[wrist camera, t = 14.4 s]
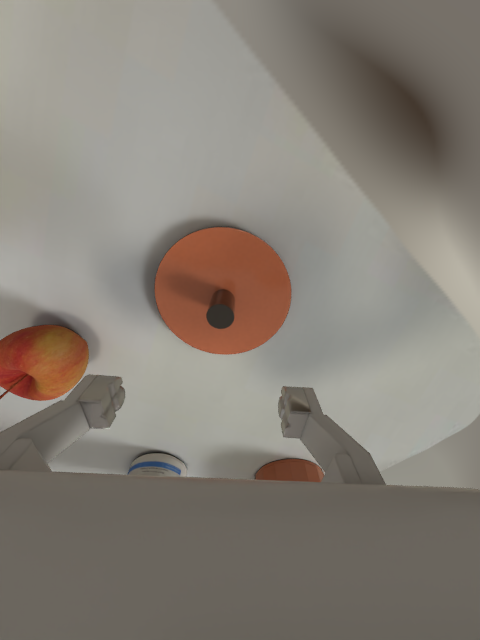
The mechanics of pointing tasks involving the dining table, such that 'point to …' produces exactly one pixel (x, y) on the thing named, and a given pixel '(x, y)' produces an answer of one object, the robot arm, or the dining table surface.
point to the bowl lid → (222, 290)
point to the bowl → (290, 471)
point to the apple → (42, 362)
